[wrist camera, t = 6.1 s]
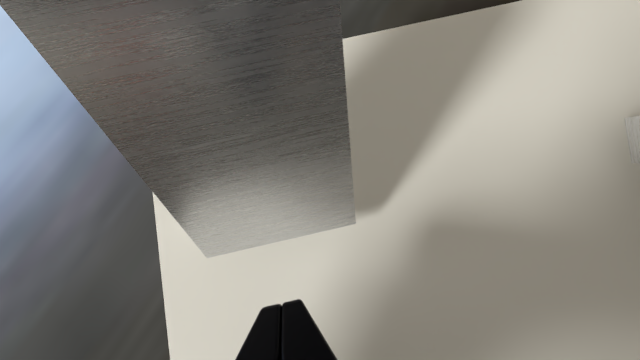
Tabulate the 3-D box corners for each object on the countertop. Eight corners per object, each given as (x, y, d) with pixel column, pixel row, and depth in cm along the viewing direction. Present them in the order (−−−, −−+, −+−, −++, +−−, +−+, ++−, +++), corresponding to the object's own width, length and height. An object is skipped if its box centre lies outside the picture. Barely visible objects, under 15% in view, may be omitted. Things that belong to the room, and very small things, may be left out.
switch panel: (814, 296, 15) (923, 299, 12) (208, 443, 14) (178, 482, 11) (650, 4, 18) (704, -44, 16) (167, 110, 18) (137, 78, 15)
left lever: (355, 223, 12) (325, -204, 4) (206, 258, 12) (-102, -120, 4) (344, 186, 13) (302, -220, 5) (206, 217, 13) (-46, -152, 5)
